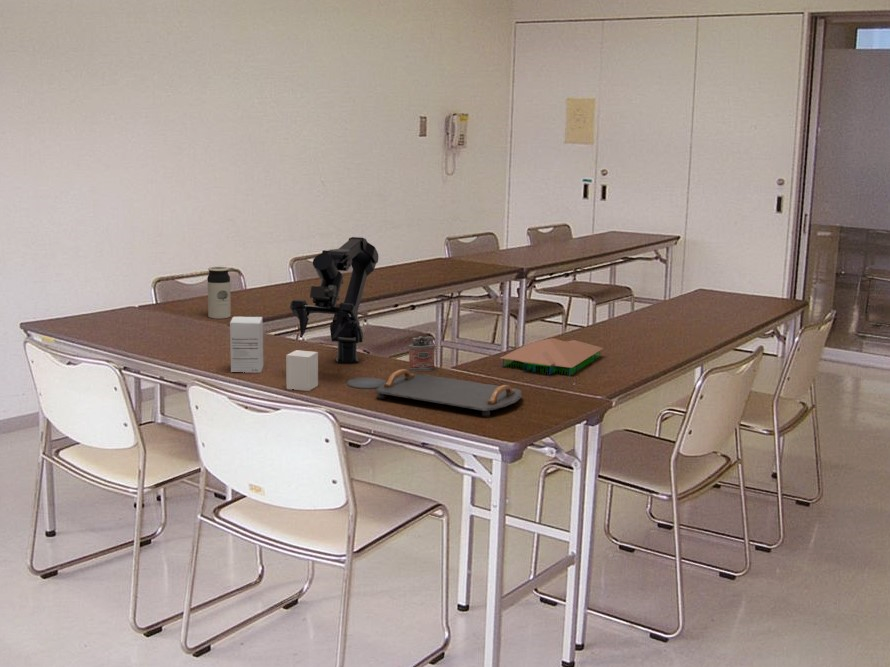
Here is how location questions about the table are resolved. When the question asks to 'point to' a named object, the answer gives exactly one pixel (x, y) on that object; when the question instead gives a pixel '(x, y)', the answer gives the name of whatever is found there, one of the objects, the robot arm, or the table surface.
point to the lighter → (421, 354)
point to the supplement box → (246, 344)
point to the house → (554, 354)
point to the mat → (365, 383)
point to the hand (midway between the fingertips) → (317, 336)
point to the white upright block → (302, 370)
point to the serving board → (449, 391)
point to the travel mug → (219, 293)
